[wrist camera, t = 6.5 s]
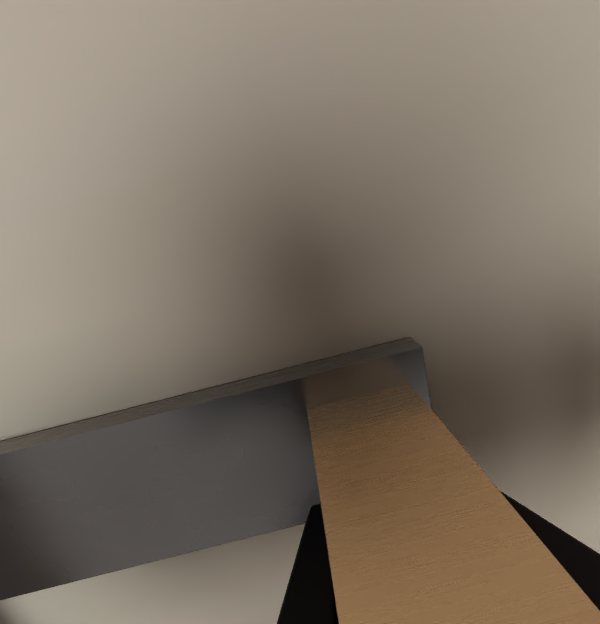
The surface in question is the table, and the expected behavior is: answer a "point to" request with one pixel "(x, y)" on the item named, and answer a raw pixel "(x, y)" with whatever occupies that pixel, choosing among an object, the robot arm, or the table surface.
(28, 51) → the table surface
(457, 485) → the try square
